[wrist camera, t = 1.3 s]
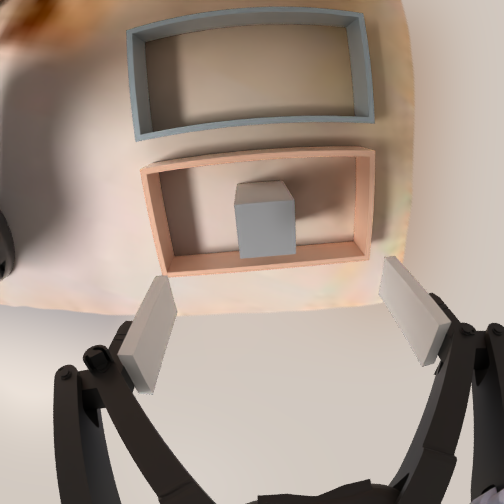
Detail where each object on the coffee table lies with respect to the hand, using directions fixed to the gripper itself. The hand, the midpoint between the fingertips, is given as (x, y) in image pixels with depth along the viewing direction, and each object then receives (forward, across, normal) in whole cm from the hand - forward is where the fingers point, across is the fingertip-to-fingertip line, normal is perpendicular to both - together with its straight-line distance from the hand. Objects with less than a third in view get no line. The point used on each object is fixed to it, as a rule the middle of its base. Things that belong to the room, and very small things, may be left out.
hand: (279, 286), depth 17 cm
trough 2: (+17, 0, 0) cm, 17 cm away
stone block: (+17, 0, 0) cm, 17 cm away
